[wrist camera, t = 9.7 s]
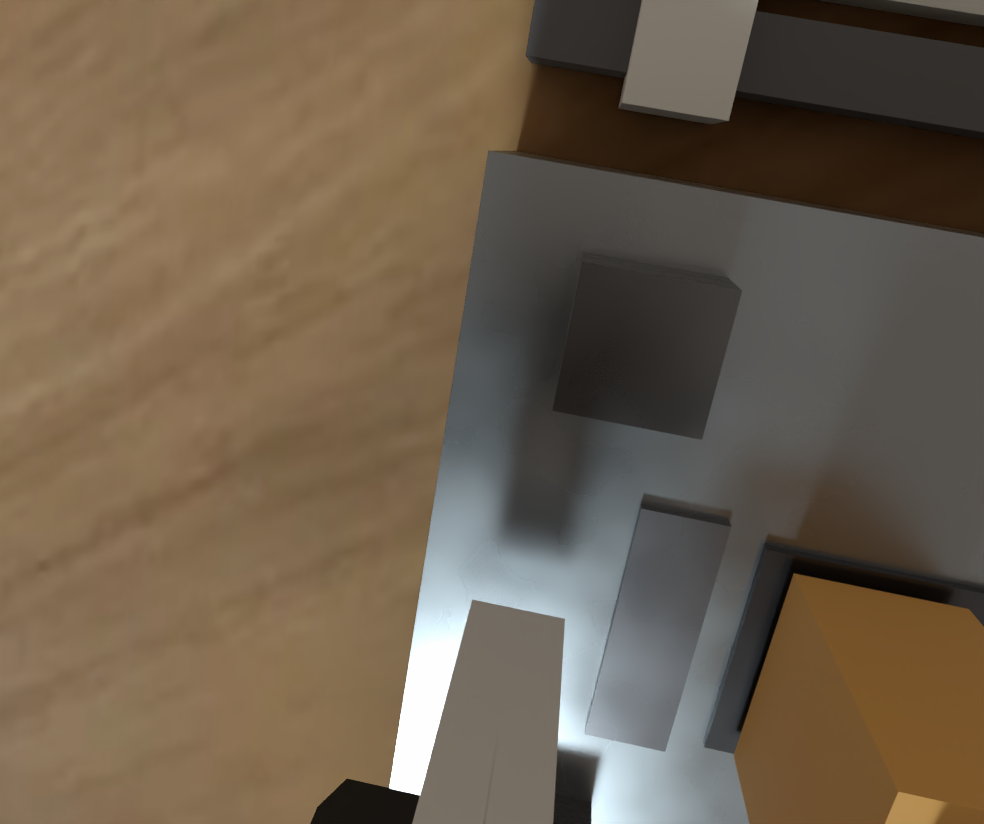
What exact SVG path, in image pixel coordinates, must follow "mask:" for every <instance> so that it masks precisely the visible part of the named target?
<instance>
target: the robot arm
mask: <svg viewBox="0 0 984 824" xmlns="http://www.w3.org/2000/svg"><path fill="white" fill-rule="evenodd" d="M564 627H565V619H563V618H559V617H554V616H549V615H544V614H540V613H535V612H530V611H525V610H520V609H516V608H511V607H506V606H501V605H496V604H492V603H487V602H482V601H477V600H472V602H471V606H470V610H469V614H468V617H467V621H466V625H465V629H464V632H463V636H462V640H461V643H460V647H459V651H458V655H457V658H456V662H455V666H454V670H453V673H452V677H451V681H450V685H449V688H448V692H447V696H446V700H445V703H444V707H443V711H442V714H441V718H440V722H439V726H438V729H437V733H436V737H435V741H434V744H433V748H432V752H431V756H430V759H429V763H428V767H427V770H426V774H425V778H424V782H423V785H422V789H421V793H420V795H417V794H413V793H408V792H404V791H399V790H395V789H391V788H386V787H382V786H377V785H373V784H368V783H364V782H359V781H355V780H351V779H346V780H345V781H344V782H343V783H342V784H341V785H340V786H339V787H338V788H337V789H336V790H335V791H334V792H333V793H332V794H331V795H329V796H328V797H327V798H326V799H325V800H324V801H323V802H322V803H321V804H320V805H319V806H318V807H317V809H316V812H315V814H314V817H313V819H312V821H311V824H558V823H554V822H553V816H554V799H555V782H556V765H557V748H558V730H559V713H560V696H561V679H562V662H563V645H564Z"/></svg>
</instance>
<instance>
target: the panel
mask: <svg viewBox="0 0 984 824" xmlns="http://www.w3.org/2000/svg"><path fill="white" fill-rule="evenodd" d="M793 574H799V575H804V576H809V577H814V578H819V579H824V580H829V581H834V582H839V583H844V584H849V585H853V586H858V587H863V588H868V589H873V590H878V591H883V592H888V593H893V594H898V595H903V596H907V597H912V598H917V599H922V600H927V601H932V602H937V603H942V604H947V605H952V606H957V607H962V608H966V609H969V610H970V611H971V612H972V613H973V614H974V616H975V617H976V618H977V619H978V620H979V622H980V623H981V624H982V625H983V626H984V233H981V232H975V231H969V230H964V229H958V228H952V227H947V226H941V225H935V224H929V223H924V222H918V221H912V220H907V219H901V218H895V217H890V216H884V215H878V214H872V213H867V212H861V211H855V210H850V209H844V208H838V207H833V206H827V205H821V204H815V203H810V202H804V201H798V200H793V199H787V198H781V197H776V196H770V195H764V194H758V193H753V192H747V191H741V190H736V189H730V188H724V187H719V186H713V185H707V184H701V183H696V182H690V181H684V180H679V179H673V178H667V177H662V176H656V175H650V174H644V173H639V172H633V171H627V170H622V169H616V168H610V167H604V166H599V165H593V164H587V163H582V162H576V161H570V160H565V159H559V158H553V157H547V156H542V155H536V154H530V153H525V152H519V151H488V157H487V163H486V170H485V176H484V183H483V189H482V195H481V202H480V208H479V215H478V221H477V228H476V234H475V241H474V247H473V253H472V260H471V266H470V273H469V279H468V286H467V292H466V299H465V305H464V311H463V318H462V324H461V331H460V337H459V344H458V350H457V357H456V363H455V369H454V376H453V382H452V389H451V395H450V402H449V408H448V415H447V421H446V427H445V434H444V440H443V447H442V453H441V460H440V466H439V473H438V479H437V485H436V492H435V498H434V505H433V511H432V518H431V524H430V531H429V537H428V543H427V550H426V556H425V563H424V569H423V576H422V582H421V589H420V595H419V602H418V608H417V614H416V621H415V627H414V634H413V640H412V647H411V653H410V660H409V666H408V672H407V679H406V685H405V692H404V698H403V705H402V711H401V718H400V724H399V730H398V737H397V743H396V750H395V756H394V763H393V769H392V776H391V782H390V788H391V789H395V790H399V791H404V792H408V793H413V794H417V795H420V793H421V789H422V785H423V782H424V778H425V774H426V770H427V767H428V763H429V759H430V756H431V752H432V748H433V744H434V741H435V737H436V733H437V729H438V726H439V722H440V718H441V714H442V711H443V707H444V703H445V700H446V696H447V692H448V688H449V685H450V681H451V677H452V673H453V670H454V666H455V662H456V658H457V655H458V651H459V647H460V643H461V640H462V636H463V632H464V629H465V625H466V621H467V617H468V614H469V610H470V606H471V602H472V600H477V601H482V602H487V603H492V604H496V605H501V606H506V607H511V608H516V609H520V610H525V611H530V612H535V613H540V614H544V615H549V616H554V617H559V618H563V619H565V627H564V645H563V662H562V679H561V696H560V713H559V730H558V748H557V765H556V782H555V799H554V816H553V822H554V823H558V824H750V823H749V819H748V815H747V811H746V806H745V802H744V798H743V794H742V789H741V785H740V781H739V777H738V772H737V768H736V764H735V760H734V753H735V750H736V747H737V744H738V741H739V738H740V735H741V732H742V729H743V725H744V722H745V719H746V716H747V713H748V710H749V707H750V704H751V701H752V698H753V695H754V692H755V689H756V686H757V683H758V680H759V677H760V674H761V671H762V668H763V665H764V662H765V659H766V656H767V653H768V650H769V647H770V644H771V641H772V638H773V635H774V632H775V628H776V625H777V622H778V619H779V616H780V613H781V610H782V607H783V604H784V601H785V598H786V595H787V592H788V589H789V586H790V583H791V580H792V577H793Z"/></svg>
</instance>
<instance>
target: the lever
mask: <svg viewBox="0 0 984 824" xmlns="http://www.w3.org/2000/svg"><path fill="white" fill-rule="evenodd" d="M734 760H735V764H736V768H737V772H738V777H739V781H740V785H741V789H742V794H743V798H744V802H745V806H746V811H747V815H748V819H749V823H750V824H984V626H983V625H982V624H981V623H980V622H979V620H978V619H977V618H976V617H975V616H974V614H973V613H972V612H971V611H970V610H969V609H966V608H962V607H957V606H952V605H947V604H942V603H937V602H932V601H927V600H922V599H917V598H912V597H907V596H903V595H898V594H893V593H888V592H883V591H878V590H873V589H868V588H863V587H858V586H853V585H849V584H844V583H839V582H834V581H829V580H824V579H819V578H814V577H809V576H804V575H799V574H793V577H792V580H791V583H790V586H789V589H788V592H787V595H786V598H785V601H784V604H783V607H782V610H781V613H780V616H779V619H778V622H777V625H776V628H775V632H774V635H773V638H772V641H771V644H770V647H769V650H768V653H767V656H766V659H765V662H764V665H763V668H762V671H761V674H760V677H759V680H758V683H757V686H756V689H755V692H754V695H753V698H752V701H751V704H750V707H749V710H748V713H747V716H746V719H745V722H744V725H743V729H742V732H741V735H740V738H739V741H738V744H737V747H736V750H735V753H734Z"/></svg>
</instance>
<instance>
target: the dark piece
mask: <svg viewBox="0 0 984 824" xmlns="http://www.w3.org/2000/svg"><path fill="white" fill-rule="evenodd" d="M817 1H823V2H830V3H836V4H842V5H848V6H855V7H861V8H867V9H873V10H880V11H886V12H892V13H898V14H905V15H911V16H917V17H923V18H930V19H936V20H942V21H948V22H955V23H961V24H967V25H973V26H980V27H984V0H817ZM757 4H758V0H535V3H534V9H533V15H532V21H531V27H530V33H529V39H528V45H527V51H526V56H527V58H528V59H529V61H530V62H531V63H535V64H541V65H546V66H552V67H558V68H564V69H570V70H576V71H582V72H588V73H594V74H600V75H606V76H612V77H618V78H624V83H623V88H622V93H621V98H620V103H619V108H618V109H623V110H629V111H635V112H641V113H646V114H652V115H658V116H664V117H670V118H676V119H681V120H687V121H693V122H699V123H705V124H711V125H713V124H717V123H721V122H726V121H729V118H730V114H731V110H732V106H733V102H734V98H735V97H737V98H742V99H748V100H754V101H760V102H766V103H772V104H778V105H784V106H790V107H796V108H802V109H808V110H814V111H820V112H826V113H832V114H837V115H843V116H849V117H855V118H861V119H867V120H873V121H879V122H885V123H891V124H897V125H903V126H909V127H915V128H921V129H927V130H932V131H938V132H944V133H950V134H956V135H962V136H968V137H974V138H980V139H984V48H982V47H976V46H970V45H964V44H958V43H952V42H945V41H939V40H933V39H927V38H921V37H914V36H908V35H902V34H896V33H890V32H883V31H877V30H871V29H865V28H859V27H853V26H846V25H840V24H834V23H828V22H822V21H815V20H809V19H803V18H797V17H791V16H784V15H778V14H772V13H766V12H760V11H756V8H757Z"/></svg>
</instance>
